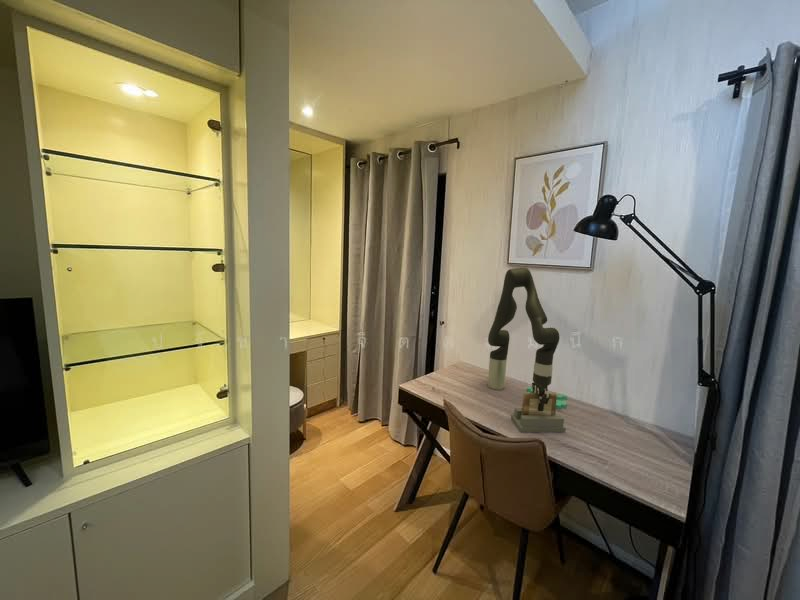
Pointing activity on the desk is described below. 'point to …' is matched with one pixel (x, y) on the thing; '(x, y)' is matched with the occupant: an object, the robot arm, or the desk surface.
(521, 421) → the picture ledge
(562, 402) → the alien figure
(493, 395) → the desk surface
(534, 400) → the walnut frame
